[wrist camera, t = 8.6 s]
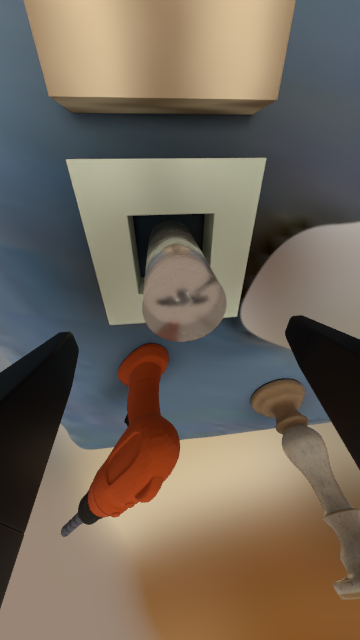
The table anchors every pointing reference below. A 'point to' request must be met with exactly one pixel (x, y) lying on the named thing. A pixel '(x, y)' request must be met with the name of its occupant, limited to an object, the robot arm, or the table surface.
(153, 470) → the toy drill
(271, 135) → the table surface
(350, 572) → the candle holder
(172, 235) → the silver flared cylinder
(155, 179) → the square block with hole
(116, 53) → the socket block
